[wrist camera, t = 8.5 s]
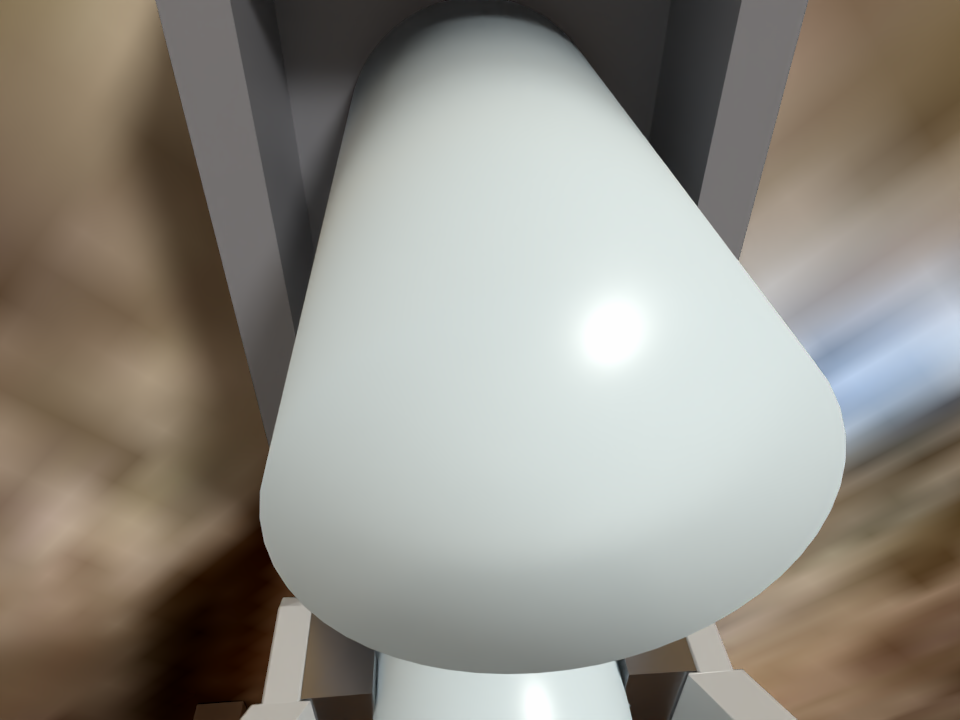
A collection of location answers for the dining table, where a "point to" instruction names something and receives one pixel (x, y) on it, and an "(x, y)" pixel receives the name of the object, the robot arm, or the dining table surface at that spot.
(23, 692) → the dining table surface
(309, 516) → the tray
